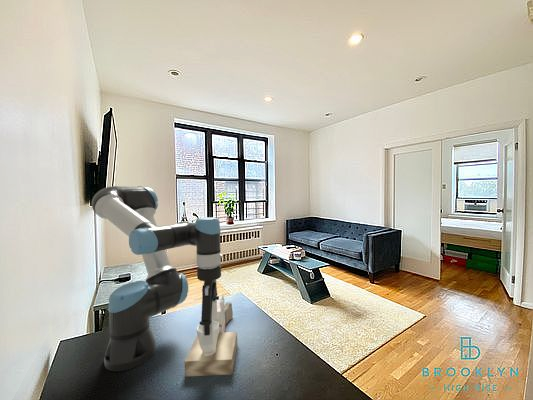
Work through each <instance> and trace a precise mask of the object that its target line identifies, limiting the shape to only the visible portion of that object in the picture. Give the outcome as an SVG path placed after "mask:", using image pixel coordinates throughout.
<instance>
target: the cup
mask: <svg viewBox="0 0 533 400" xmlns="http://www.w3.org/2000/svg"><path fill="white" fill-rule="evenodd" d="M212 332H213V344H211V345H203V325H201V324H200V323H199V324H197V328H196V334H197V335H198V339H199V344H200V347H201V350H202V354H203V355H205V356H210V355H212V354H214V353H215V352H216V344H217V337H218V334H219V323H218V321H214V320H212ZM197 335H196V336H197Z"/></svg>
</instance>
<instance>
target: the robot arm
mask: <svg viewBox="0 0 533 400" xmlns="http://www.w3.org/2000/svg"><path fill="white" fill-rule="evenodd" d="M158 206H159V200H158V196H157V193H156V192H155V191H154V190H153V189H152V188H151V187H147V186H118V185H112V186H107V187H104V188H102V189H100V190H98V191H97V192H96V193H95V194H94V196H93V197H92V199H91V208H92V211H93V213H95V214H96V215H97V216H99V217H100V218H102V219H105V220H108V221H109V223H111V224H112V225H114V226H115V227H116V228H118V229H119V231H121V232H123V234H125V235H126V236H128V245H129V248H130V251H131V252H132V253H133V254H134V255H136V256H140V255H141V257H142V259H143V262H144V266H145V269H146V272H147V277H146V278H145V280H138V281H137V280H136V281H135V282H134V281H131V282H129V283H125V284H123V285H121V286H120V287H117V288H116V289H114V290H113V291H112V292H110V293H111V294H110V295H109V297H108V306H107V310H108V321H109V322H108V324H109V325H108V326H109V340H108V341H109V342H108V344H107V347H106V350H105V353H104V358H103V361H104V363H103V364H104V368H105V369H106V370H108V371H110V372H123V371H127V370H131V369H135V368H136V367H139V366H140V365H142V364H144V363H145V362H147V361H148V360H149V359H151V357H153V355H154V354H155V353H156V350H157V341H156V338H155V336H154V334H153V331H152V329H151V326H150V318H152V317H154V316H157V315H158V314H161V313H163V312H166V311H168V310H170V309H173V308H175V307H177V306H179V305H180V304H182V303H184V301H185V300H186V299H187V297H188V293H189V283H188V279H187V277H186V275H185V274H184V273H182V272H178V269H177V268H176V267H175V266H172V265H171V262H170V259H169V257H168V254H167V251H166V250H170V249H174V248H179V247H184V246H194V247H195V246H196V266H197V267H196V274H197V276H196V277H197V278H196V279H198V281H201V282H203V284H202V289H201V293H202V298H201V318H200V319H201V320H200V321H199V324H201V325H203V345H211V344H213V332H212V320H217V301H220V300H219V299H220V296H219V295H218V289H217V280H218V279H220V278H221V277H222V266H221V261H222V260H221V259H222V258H223V257H224V256H223V254H221V225H220V224H221V223H220V219H219V218H218V217H213V216H212V217H209V216H208V217H199V218H196V219H195V222H189V221H184V222H183V221H180V222H177V223H175V224H168V225H167V224H166V225H157V222H156V220H155V214H156V213H157V212H156V210H157V209H158Z"/></svg>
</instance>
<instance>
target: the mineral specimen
mask: <svg viewBox="0 0 533 400" xmlns="http://www.w3.org/2000/svg"><path fill="white" fill-rule="evenodd" d="M224 307H225V326H227V324H228V323H229V321H231V320H232V319H233V306H232V302H230V301H228V302H226V303H224Z"/></svg>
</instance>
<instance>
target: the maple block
mask: <svg viewBox="0 0 533 400" xmlns="http://www.w3.org/2000/svg"><path fill="white" fill-rule="evenodd" d="M237 348H238V331H233V332H232V331H231V332H229V331H228V332H226V331H225V333H219V334H218V337H217V344H216V352H215V353H214V354H212V355H210V356H205V355H203V354H202V350H201V347H200V344H199V339H198V335H196V336H195V339H194V340H193V343H192V344H191V347H190V348H189V351H188V353H187V356H186V357H185V359H184V377H201V376H202V377H205V376H223V375H233V373H234V367H235V361H236V355H237Z"/></svg>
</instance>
